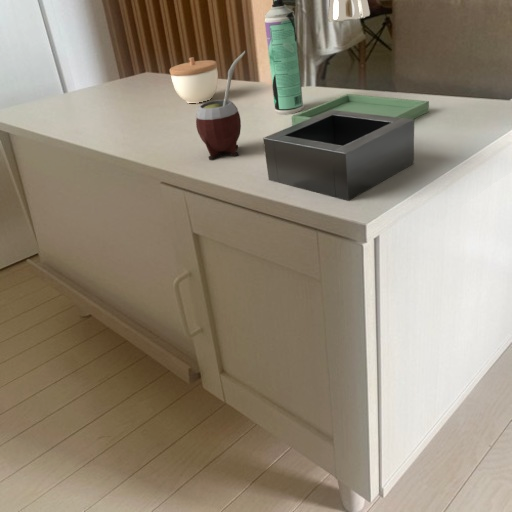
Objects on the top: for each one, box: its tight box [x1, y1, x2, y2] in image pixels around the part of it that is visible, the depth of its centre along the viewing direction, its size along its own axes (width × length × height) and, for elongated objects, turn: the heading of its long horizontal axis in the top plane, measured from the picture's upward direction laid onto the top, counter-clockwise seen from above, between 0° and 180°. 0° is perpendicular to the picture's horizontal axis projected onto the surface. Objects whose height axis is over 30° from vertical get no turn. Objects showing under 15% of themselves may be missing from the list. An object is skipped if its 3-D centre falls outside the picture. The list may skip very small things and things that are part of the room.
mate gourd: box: [195, 50, 246, 161], centre depth 84 cm, size 8×8×15 cm
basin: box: [262, 110, 415, 202], centre depth 72 cm, size 14×14×6 cm
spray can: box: [264, 0, 304, 115], centre depth 101 cm, size 6×6×20 cm
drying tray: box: [290, 93, 430, 126], centre depth 94 cm, size 18×16×2 cm
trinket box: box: [169, 56, 219, 104], centre depth 122 cm, size 11×11×9 cm
